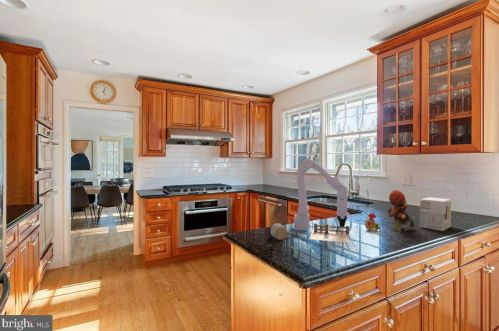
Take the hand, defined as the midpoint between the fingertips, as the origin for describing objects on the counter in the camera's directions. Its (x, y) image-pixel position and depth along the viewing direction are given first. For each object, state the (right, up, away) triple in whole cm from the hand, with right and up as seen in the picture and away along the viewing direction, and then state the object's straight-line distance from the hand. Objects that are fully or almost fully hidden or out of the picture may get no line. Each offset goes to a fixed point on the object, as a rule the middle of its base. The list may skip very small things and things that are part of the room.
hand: (342, 228), depth 159 cm
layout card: (-10, -2, -9) cm, 14 cm away
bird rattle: (+19, -2, +4) cm, 20 cm away
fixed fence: (-13, -2, -3) cm, 14 cm away
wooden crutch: (-4, -2, -6) cm, 7 cm away
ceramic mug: (-38, -3, -12) cm, 40 cm away
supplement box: (+64, -2, +13) cm, 66 cm away
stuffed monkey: (+39, -2, +7) cm, 40 cm away
